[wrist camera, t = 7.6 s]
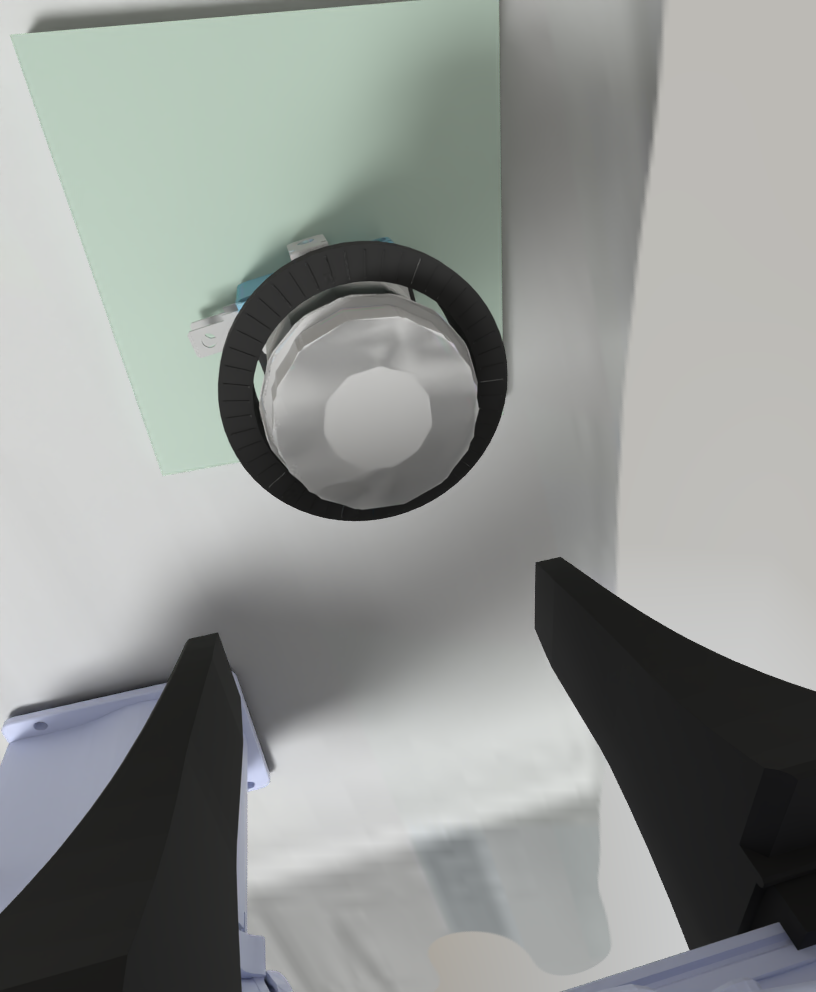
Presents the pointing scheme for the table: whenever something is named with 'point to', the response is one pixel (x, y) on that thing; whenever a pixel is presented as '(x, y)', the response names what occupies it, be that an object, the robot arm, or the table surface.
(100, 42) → the sage board
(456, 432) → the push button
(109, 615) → the table surface
